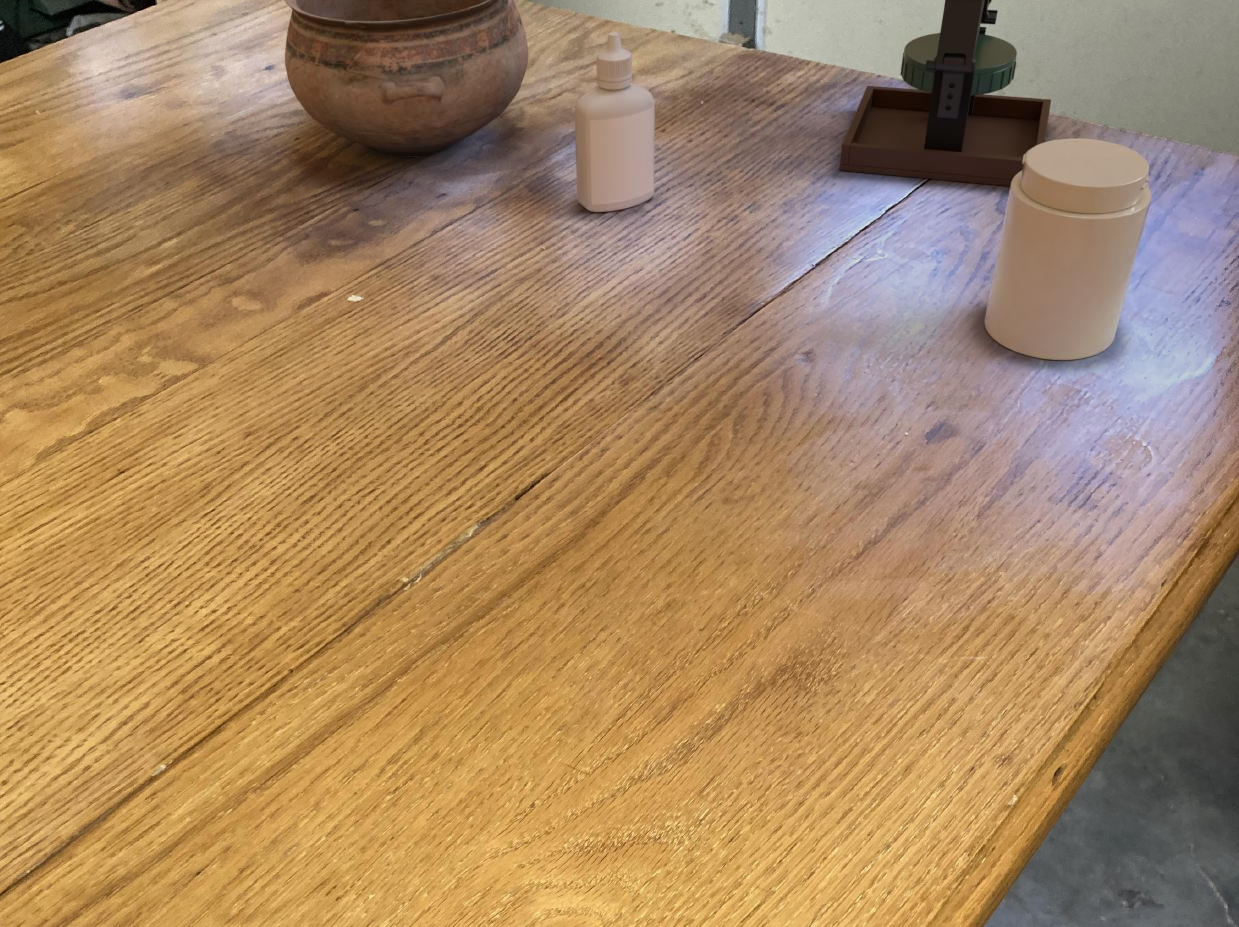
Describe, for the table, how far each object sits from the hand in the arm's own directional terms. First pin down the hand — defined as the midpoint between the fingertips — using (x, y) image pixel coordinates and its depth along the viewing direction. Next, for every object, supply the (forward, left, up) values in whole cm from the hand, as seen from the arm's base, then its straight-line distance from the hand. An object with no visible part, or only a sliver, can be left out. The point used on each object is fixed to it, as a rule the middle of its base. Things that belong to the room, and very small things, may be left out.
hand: (948, 133), depth 101 cm
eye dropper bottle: (+22, +15, -1) cm, 27 cm away
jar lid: (0, 0, +6) cm, 6 cm away
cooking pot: (+41, +8, -1) cm, 42 cm away
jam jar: (-9, +26, -1) cm, 28 cm away
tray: (0, 0, -1) cm, 1 cm away
